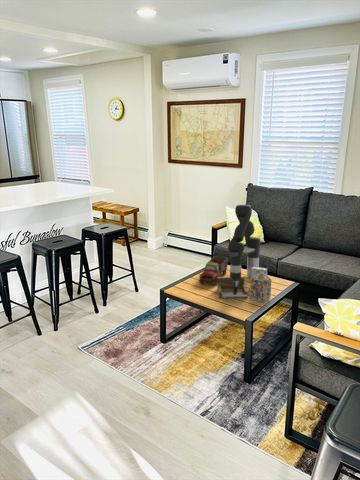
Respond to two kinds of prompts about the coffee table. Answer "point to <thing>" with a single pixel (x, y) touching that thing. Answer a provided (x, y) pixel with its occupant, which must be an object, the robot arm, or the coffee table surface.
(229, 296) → the panel
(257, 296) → the decorative jar
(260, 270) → the candy bar box
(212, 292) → the coffee table surface
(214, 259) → the toy truck
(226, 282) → the box
